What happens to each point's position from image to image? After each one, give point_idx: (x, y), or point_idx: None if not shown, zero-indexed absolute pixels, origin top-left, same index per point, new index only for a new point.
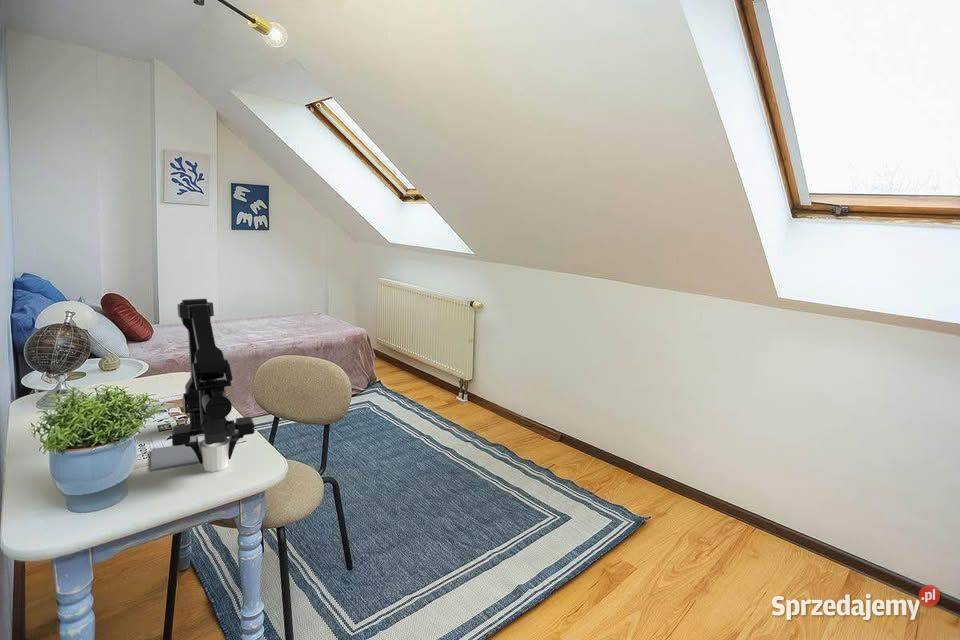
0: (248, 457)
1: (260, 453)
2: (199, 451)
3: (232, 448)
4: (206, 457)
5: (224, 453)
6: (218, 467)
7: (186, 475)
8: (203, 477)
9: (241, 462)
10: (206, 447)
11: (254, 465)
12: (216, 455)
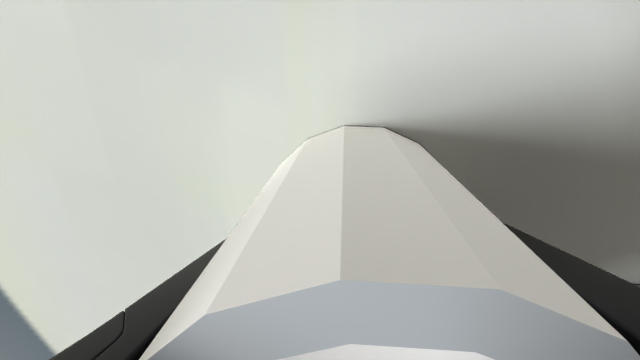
0: (136, 272)
1: (68, 299)
2: (626, 322)
3: (141, 309)
4: (486, 208)
5: (240, 230)
6: (334, 135)
7: (604, 131)
8: (472, 41)
9: (170, 217)
10: (595, 351)
11: (53, 138)
12: (349, 187)
